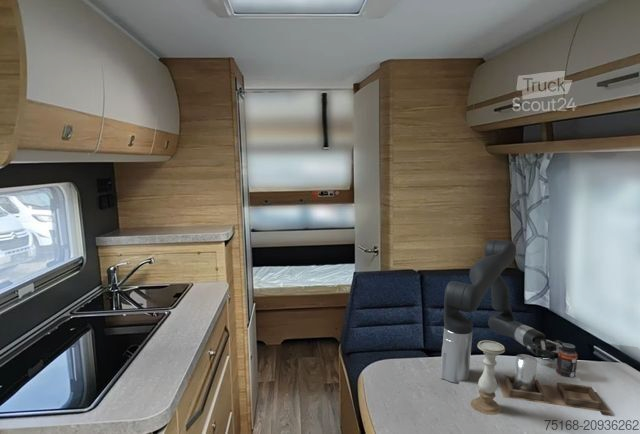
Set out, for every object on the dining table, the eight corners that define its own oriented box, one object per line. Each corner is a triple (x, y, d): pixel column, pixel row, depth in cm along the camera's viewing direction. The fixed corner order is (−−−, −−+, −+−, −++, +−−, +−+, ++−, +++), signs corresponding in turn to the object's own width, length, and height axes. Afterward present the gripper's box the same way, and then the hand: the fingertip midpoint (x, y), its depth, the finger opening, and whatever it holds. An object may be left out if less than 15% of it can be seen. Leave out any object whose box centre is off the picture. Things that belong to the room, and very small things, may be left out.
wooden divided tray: (503, 400, 138) (503, 391, 138) (497, 381, 150) (498, 372, 149) (610, 415, 131) (611, 406, 131) (595, 394, 143) (597, 386, 142)
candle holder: (507, 412, 132) (513, 347, 129) (489, 421, 127) (495, 354, 124) (481, 398, 139) (487, 336, 136) (464, 406, 134) (469, 343, 131)
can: (515, 394, 140) (518, 361, 138) (511, 384, 146) (514, 353, 144) (535, 396, 139) (539, 364, 137) (531, 387, 144) (534, 355, 143)
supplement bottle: (577, 381, 151) (581, 350, 150) (558, 379, 152) (562, 348, 151) (571, 372, 157) (575, 342, 156) (553, 370, 158) (556, 340, 157)
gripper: (515, 330, 168) (548, 348, 153) (546, 327, 172) (581, 344, 157) (513, 348, 169) (546, 368, 154) (544, 345, 173) (579, 364, 158)
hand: (564, 356), depth 155 cm, fingers open, 8 cm apart
